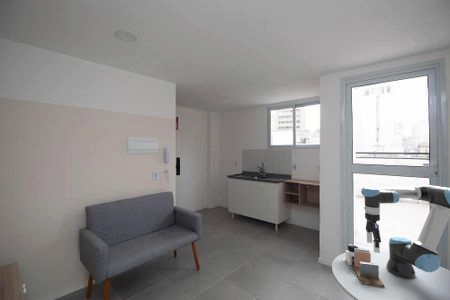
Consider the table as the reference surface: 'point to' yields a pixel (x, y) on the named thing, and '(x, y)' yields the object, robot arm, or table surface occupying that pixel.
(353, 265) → the shelf
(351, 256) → the container
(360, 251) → the books
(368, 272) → the bookend
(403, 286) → the table surface
